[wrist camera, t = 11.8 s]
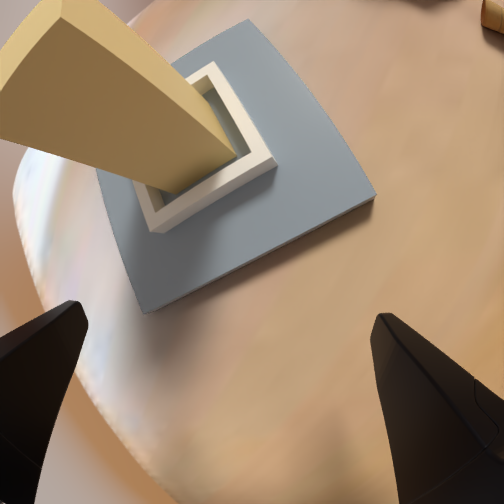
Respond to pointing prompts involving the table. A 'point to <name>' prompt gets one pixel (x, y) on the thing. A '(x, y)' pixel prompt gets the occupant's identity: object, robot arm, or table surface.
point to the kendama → (492, 16)
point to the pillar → (105, 98)
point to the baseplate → (236, 175)
